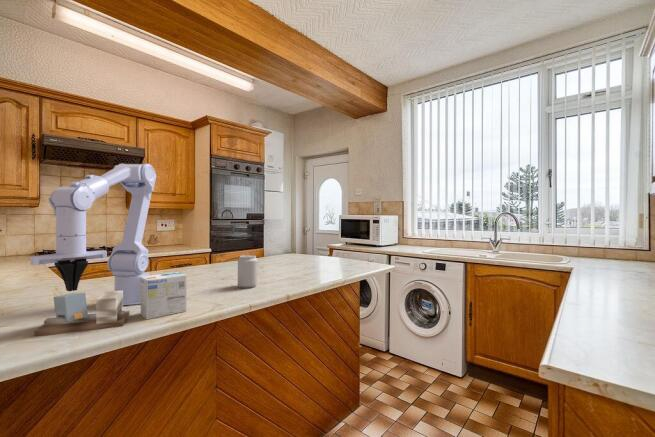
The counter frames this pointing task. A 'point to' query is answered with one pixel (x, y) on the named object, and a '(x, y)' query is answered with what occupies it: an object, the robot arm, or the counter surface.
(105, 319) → the board
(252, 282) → the can
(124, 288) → the robot arm
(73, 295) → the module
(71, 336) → the counter surface
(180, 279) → the light bulb box
